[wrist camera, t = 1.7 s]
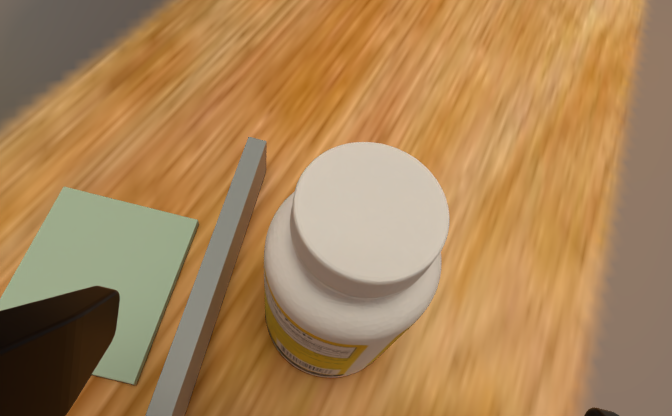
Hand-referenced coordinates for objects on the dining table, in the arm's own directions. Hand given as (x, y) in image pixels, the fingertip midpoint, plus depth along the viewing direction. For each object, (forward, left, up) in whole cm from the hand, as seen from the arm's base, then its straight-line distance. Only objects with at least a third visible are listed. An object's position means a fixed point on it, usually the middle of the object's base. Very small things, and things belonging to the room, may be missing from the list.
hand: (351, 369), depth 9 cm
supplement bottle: (+4, 0, -11) cm, 12 cm away
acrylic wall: (+4, +5, -11) cm, 13 cm away
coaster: (+3, +9, -11) cm, 15 cm away
